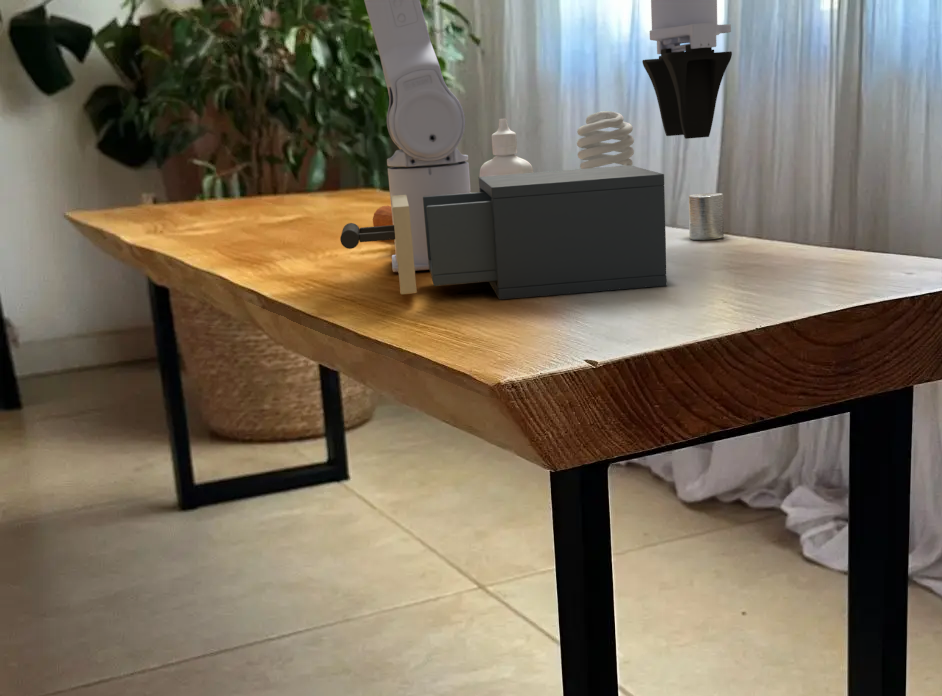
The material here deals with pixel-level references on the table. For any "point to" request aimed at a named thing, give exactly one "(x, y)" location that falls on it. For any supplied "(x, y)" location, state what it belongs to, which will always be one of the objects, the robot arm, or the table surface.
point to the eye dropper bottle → (505, 154)
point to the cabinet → (577, 231)
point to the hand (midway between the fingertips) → (686, 136)
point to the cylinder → (706, 216)
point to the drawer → (439, 239)
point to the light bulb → (596, 136)
